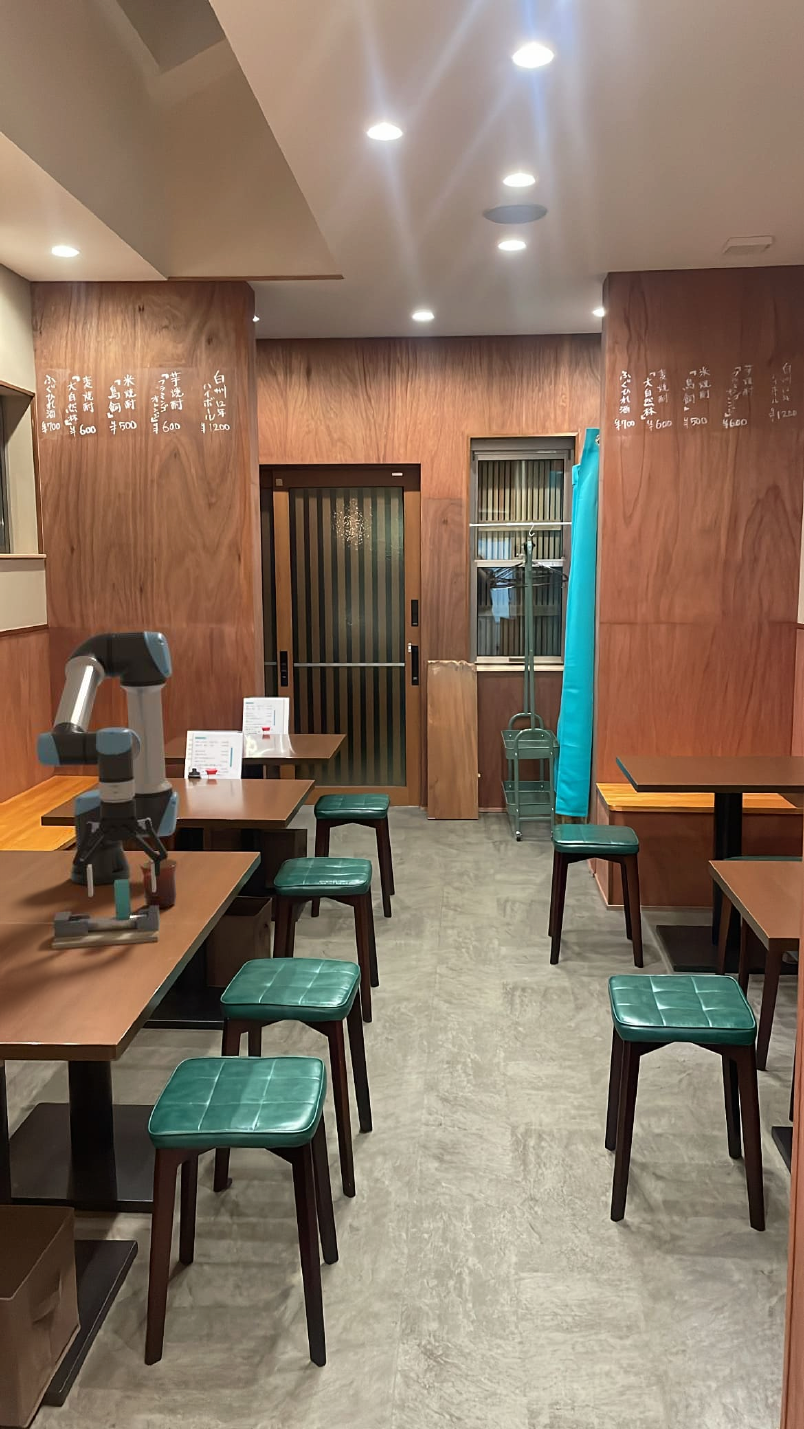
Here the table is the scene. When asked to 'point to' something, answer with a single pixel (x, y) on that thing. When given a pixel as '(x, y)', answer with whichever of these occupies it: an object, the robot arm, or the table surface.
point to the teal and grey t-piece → (117, 911)
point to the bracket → (70, 925)
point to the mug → (160, 884)
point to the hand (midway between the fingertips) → (122, 892)
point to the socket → (148, 919)
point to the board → (106, 938)
